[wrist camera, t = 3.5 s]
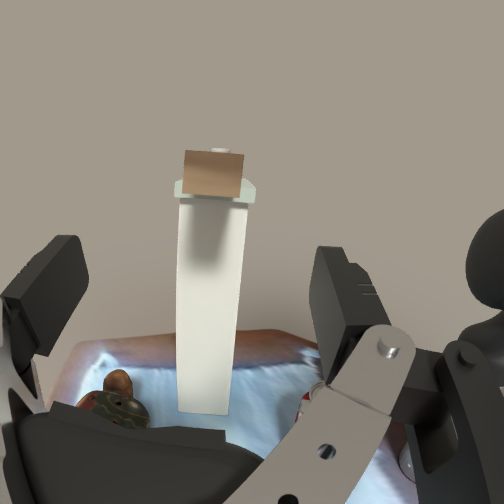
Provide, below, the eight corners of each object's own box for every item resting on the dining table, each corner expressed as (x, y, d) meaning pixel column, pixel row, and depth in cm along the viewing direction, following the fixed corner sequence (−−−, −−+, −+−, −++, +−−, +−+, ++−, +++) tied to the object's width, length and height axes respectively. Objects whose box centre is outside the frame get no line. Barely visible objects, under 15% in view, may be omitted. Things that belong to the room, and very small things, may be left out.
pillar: (231, 420, 39) (255, 188, 31) (174, 416, 39) (175, 181, 30) (229, 357, 55) (246, 178, 46) (184, 353, 54) (192, 174, 45)
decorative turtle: (154, 405, 40) (153, 366, 37) (148, 494, 26) (141, 463, 23) (91, 396, 38) (83, 355, 35) (68, 480, 24) (49, 445, 21)
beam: (239, 198, 22) (245, 143, 21) (181, 193, 21) (186, 138, 20) (232, 177, 46) (235, 152, 44) (205, 175, 45) (207, 149, 44)
